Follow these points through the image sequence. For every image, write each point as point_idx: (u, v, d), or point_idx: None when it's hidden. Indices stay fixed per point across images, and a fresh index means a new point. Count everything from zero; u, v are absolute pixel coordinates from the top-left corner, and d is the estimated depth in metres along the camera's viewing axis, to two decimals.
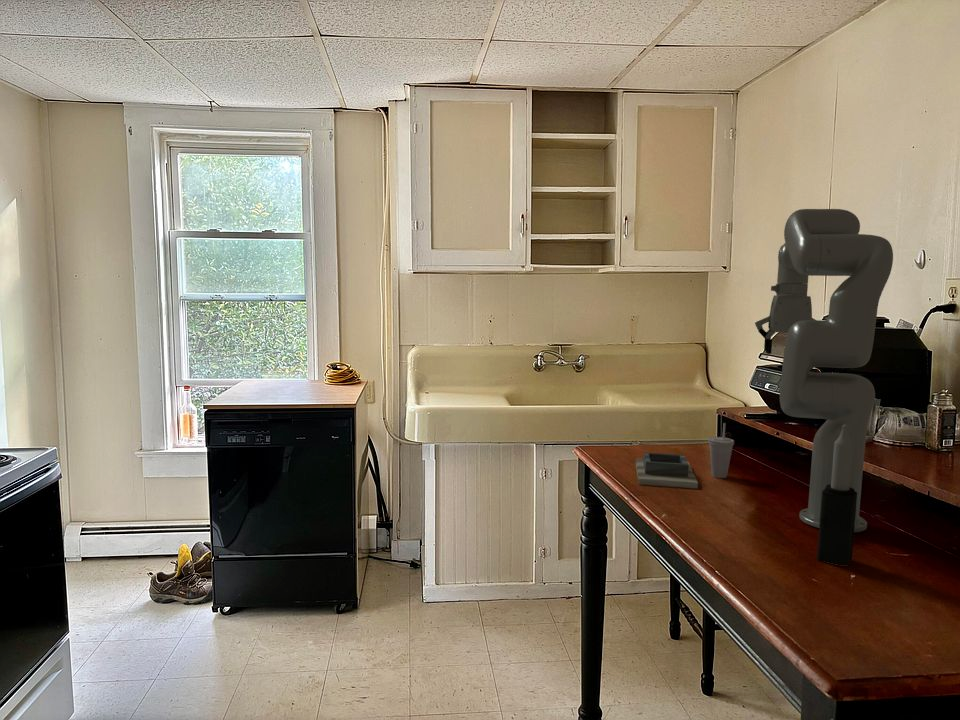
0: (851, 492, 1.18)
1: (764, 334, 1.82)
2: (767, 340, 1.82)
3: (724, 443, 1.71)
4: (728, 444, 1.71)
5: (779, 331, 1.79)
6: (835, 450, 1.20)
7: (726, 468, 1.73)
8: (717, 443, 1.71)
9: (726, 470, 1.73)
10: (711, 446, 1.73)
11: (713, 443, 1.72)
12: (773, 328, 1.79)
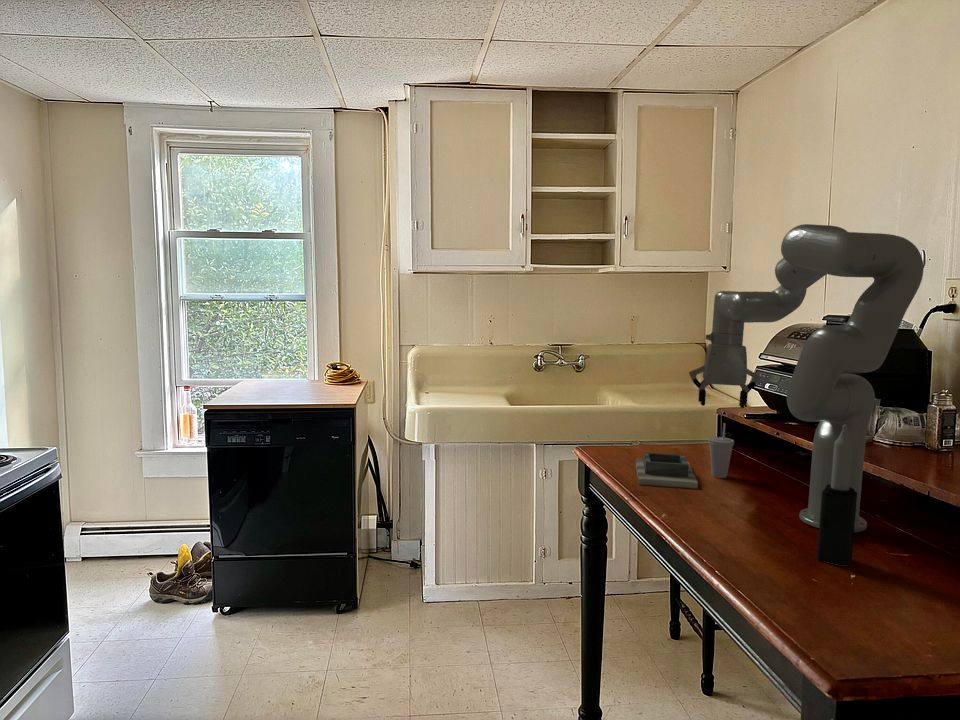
0: (851, 492, 1.18)
1: (698, 385, 1.73)
2: (701, 391, 1.73)
3: (724, 443, 1.71)
4: (728, 444, 1.71)
5: (713, 383, 1.70)
6: (835, 450, 1.20)
7: (726, 468, 1.73)
8: (717, 443, 1.71)
9: (726, 470, 1.73)
10: (711, 446, 1.73)
11: (713, 443, 1.72)
12: (706, 379, 1.71)
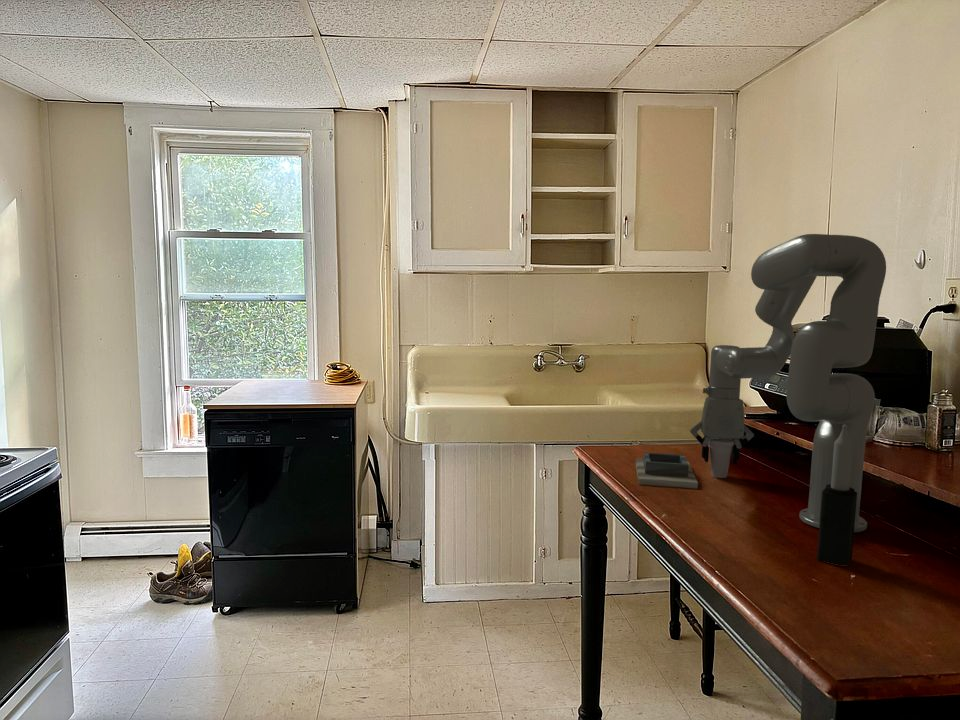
0: (851, 492, 1.18)
1: (701, 441, 1.74)
2: (704, 447, 1.74)
3: (724, 443, 1.71)
4: (728, 444, 1.71)
5: (710, 436, 1.72)
6: (835, 450, 1.20)
7: (726, 468, 1.73)
8: (717, 443, 1.71)
9: (726, 470, 1.73)
10: (711, 446, 1.73)
11: (713, 443, 1.72)
12: (704, 433, 1.72)
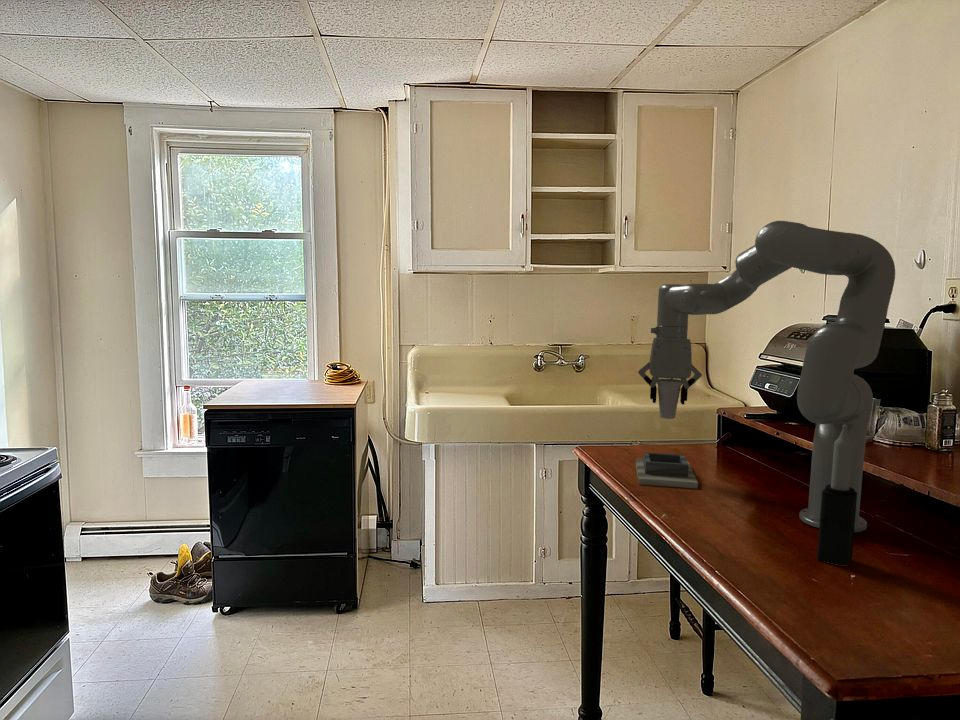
0: (851, 492, 1.18)
1: (649, 382, 1.72)
2: (652, 388, 1.72)
3: (671, 383, 1.69)
4: (675, 384, 1.69)
5: (658, 376, 1.70)
6: (835, 450, 1.20)
7: (674, 409, 1.71)
8: (664, 383, 1.69)
9: (674, 411, 1.71)
10: (659, 386, 1.71)
11: (661, 383, 1.70)
12: (652, 373, 1.70)
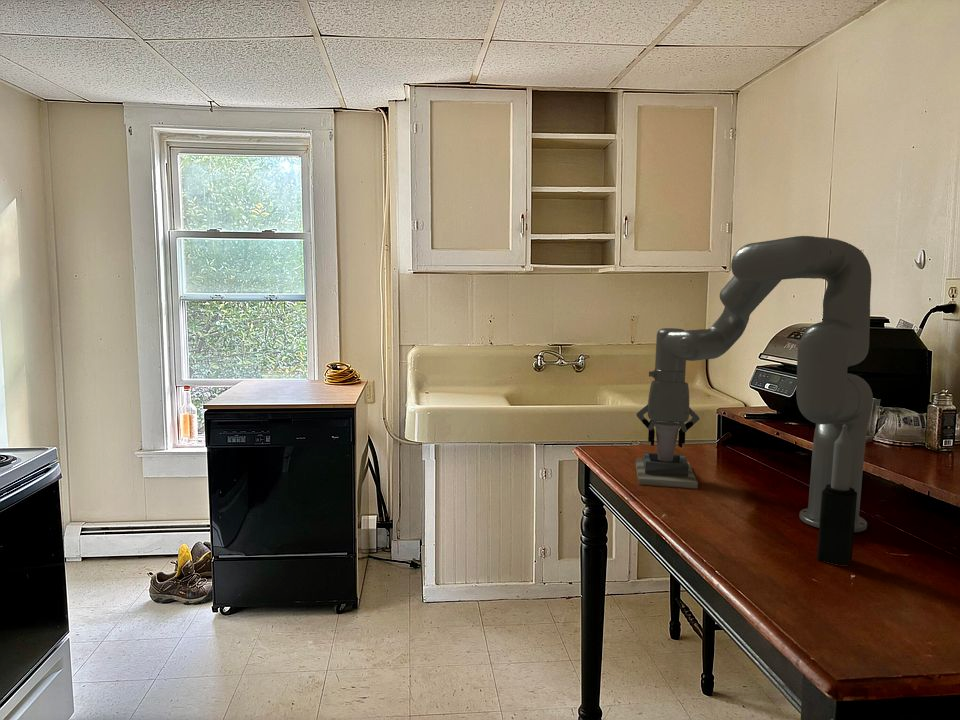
0: (851, 492, 1.18)
1: (647, 425, 1.73)
2: (650, 431, 1.73)
3: (669, 426, 1.70)
4: (673, 427, 1.70)
5: (656, 420, 1.71)
6: (835, 450, 1.20)
7: (672, 451, 1.72)
8: (662, 426, 1.71)
9: (672, 454, 1.72)
10: (657, 429, 1.73)
11: (658, 426, 1.71)
12: (650, 416, 1.71)
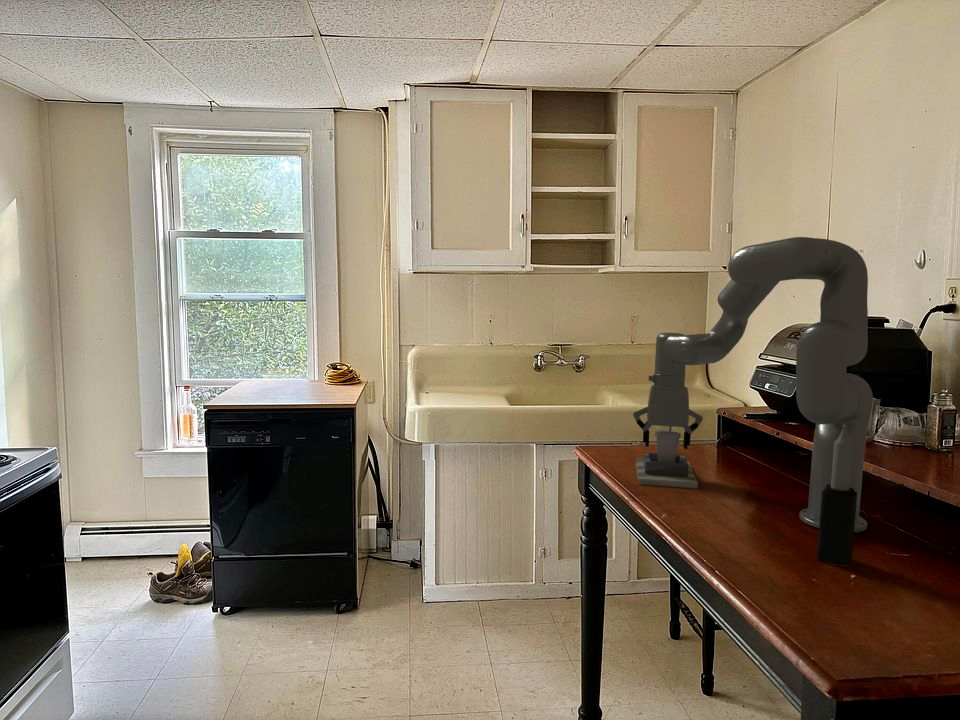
0: (851, 492, 1.18)
1: (641, 426, 1.74)
2: (645, 432, 1.74)
3: (670, 436, 1.70)
4: (674, 437, 1.70)
5: (655, 424, 1.71)
6: (835, 450, 1.20)
7: (672, 461, 1.72)
8: (663, 436, 1.71)
9: None
10: (657, 439, 1.73)
11: (659, 436, 1.72)
12: (649, 421, 1.71)
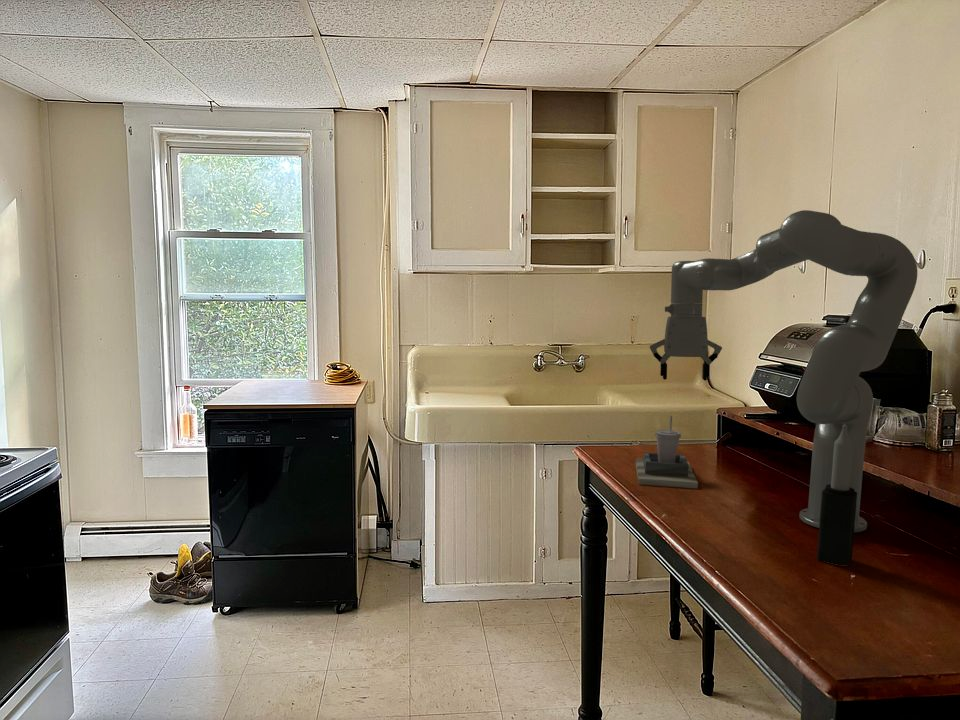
0: (851, 492, 1.18)
1: (659, 358, 1.69)
2: (662, 365, 1.69)
3: (670, 436, 1.70)
4: (674, 437, 1.70)
5: (673, 355, 1.66)
6: (835, 450, 1.20)
7: (672, 461, 1.72)
8: (663, 436, 1.71)
9: None
10: (658, 439, 1.73)
11: (659, 436, 1.72)
12: (667, 352, 1.66)
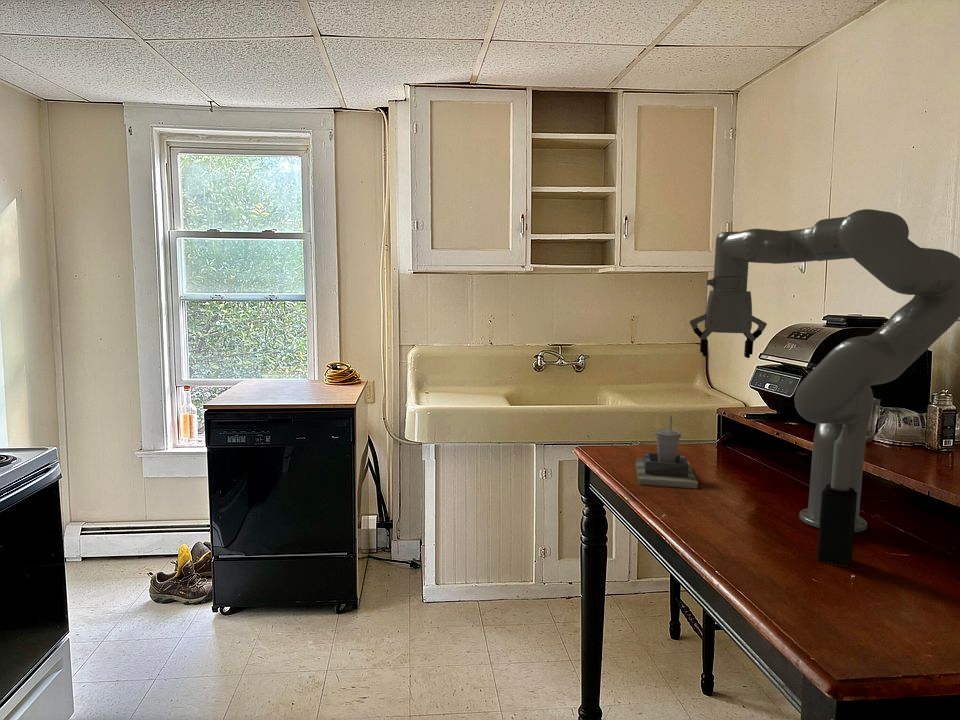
0: (851, 492, 1.18)
1: (699, 334, 1.61)
2: (703, 341, 1.61)
3: (670, 436, 1.70)
4: (674, 437, 1.70)
5: (715, 331, 1.58)
6: (835, 450, 1.20)
7: (672, 461, 1.72)
8: (663, 436, 1.71)
9: None
10: (658, 439, 1.73)
11: (659, 436, 1.72)
12: (709, 327, 1.58)
